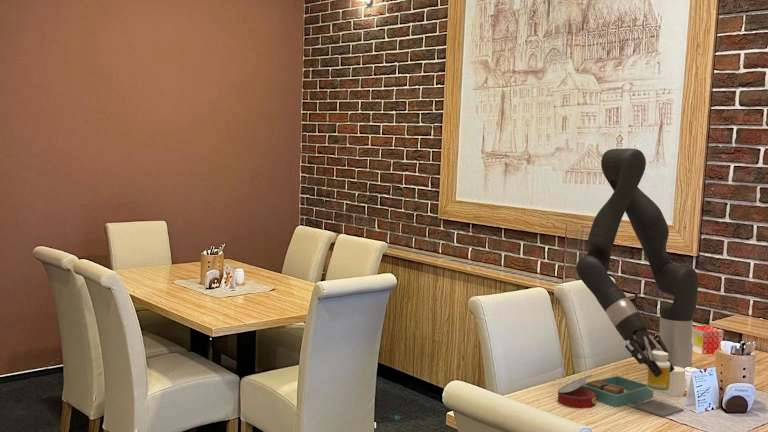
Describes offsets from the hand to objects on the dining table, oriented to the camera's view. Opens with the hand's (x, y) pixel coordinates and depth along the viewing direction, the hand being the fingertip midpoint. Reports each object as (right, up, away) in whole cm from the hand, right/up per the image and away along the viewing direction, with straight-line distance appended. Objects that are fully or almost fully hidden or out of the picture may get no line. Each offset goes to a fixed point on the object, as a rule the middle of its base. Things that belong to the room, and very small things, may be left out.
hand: (665, 373), depth 192 cm
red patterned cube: (+38, -6, +64) cm, 75 cm away
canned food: (-21, -9, +7) cm, 24 cm away
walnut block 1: (-14, -9, +12) cm, 20 cm away
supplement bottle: (-1, -5, +2) cm, 5 cm away
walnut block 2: (-11, -9, +8) cm, 17 cm away
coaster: (-1, -10, +2) cm, 10 cm away
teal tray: (-9, -9, +13) cm, 18 cm away
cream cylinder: (+8, -9, +16) cm, 20 cm away
